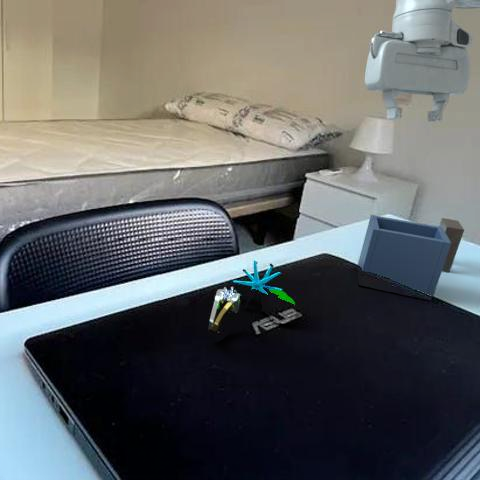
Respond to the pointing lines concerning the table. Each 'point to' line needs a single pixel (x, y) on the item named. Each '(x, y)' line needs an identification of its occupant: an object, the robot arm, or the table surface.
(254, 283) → the blue flower
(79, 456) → the table surface
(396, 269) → the box
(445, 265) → the brown wooden block
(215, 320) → the ring
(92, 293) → the table surface
